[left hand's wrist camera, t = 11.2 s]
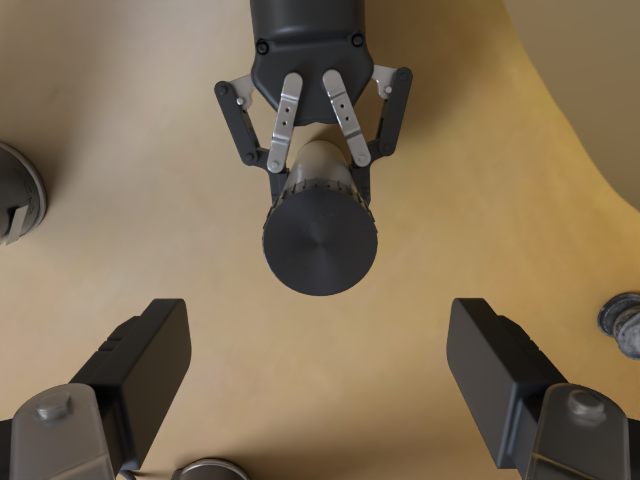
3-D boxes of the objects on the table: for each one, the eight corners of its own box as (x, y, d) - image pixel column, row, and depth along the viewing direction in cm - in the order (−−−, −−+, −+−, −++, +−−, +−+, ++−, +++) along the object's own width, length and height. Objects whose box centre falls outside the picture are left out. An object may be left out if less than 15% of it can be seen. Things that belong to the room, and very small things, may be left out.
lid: (328, 295, 21) (329, 317, 19) (246, 236, 20) (237, 254, 18) (394, 220, 19) (404, 235, 17) (310, 153, 18) (309, 161, 16)
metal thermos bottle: (324, 201, 38) (328, 306, 19) (283, 170, 37) (246, 249, 18) (356, 162, 36) (394, 233, 18) (315, 129, 35) (310, 167, 17)
